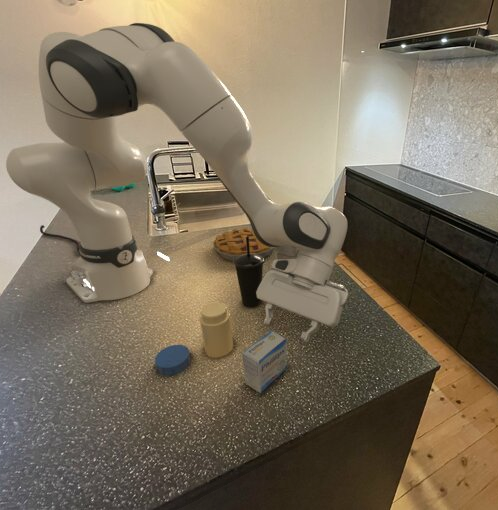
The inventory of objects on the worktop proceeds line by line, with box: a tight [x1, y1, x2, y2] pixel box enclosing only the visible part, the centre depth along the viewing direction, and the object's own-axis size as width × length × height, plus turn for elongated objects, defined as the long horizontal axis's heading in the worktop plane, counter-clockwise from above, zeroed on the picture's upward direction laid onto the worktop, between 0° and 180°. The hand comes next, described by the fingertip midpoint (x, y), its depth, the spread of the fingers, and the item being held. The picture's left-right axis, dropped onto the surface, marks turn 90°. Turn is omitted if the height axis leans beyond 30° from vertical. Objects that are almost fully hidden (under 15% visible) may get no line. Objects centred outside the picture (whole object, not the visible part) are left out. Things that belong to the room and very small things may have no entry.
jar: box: [199, 301, 234, 359], centre depth 67 cm, size 6×6×11 cm
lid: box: [154, 344, 192, 376], centre depth 64 cm, size 6×6×2 cm
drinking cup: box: [232, 237, 265, 309], centre depth 80 cm, size 8×8×20 cm
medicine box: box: [241, 330, 288, 394], centre depth 61 cm, size 8×4×9 cm, turn 148°
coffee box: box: [275, 246, 299, 260], centre depth 96 cm, size 9×6×16 cm
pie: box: [212, 227, 275, 262], centre depth 111 cm, size 22×22×5 cm
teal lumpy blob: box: [110, 183, 136, 192], centre depth 161 cm, size 10×10×10 cm
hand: (285, 333), depth 66 cm, fingers open, 8 cm apart
